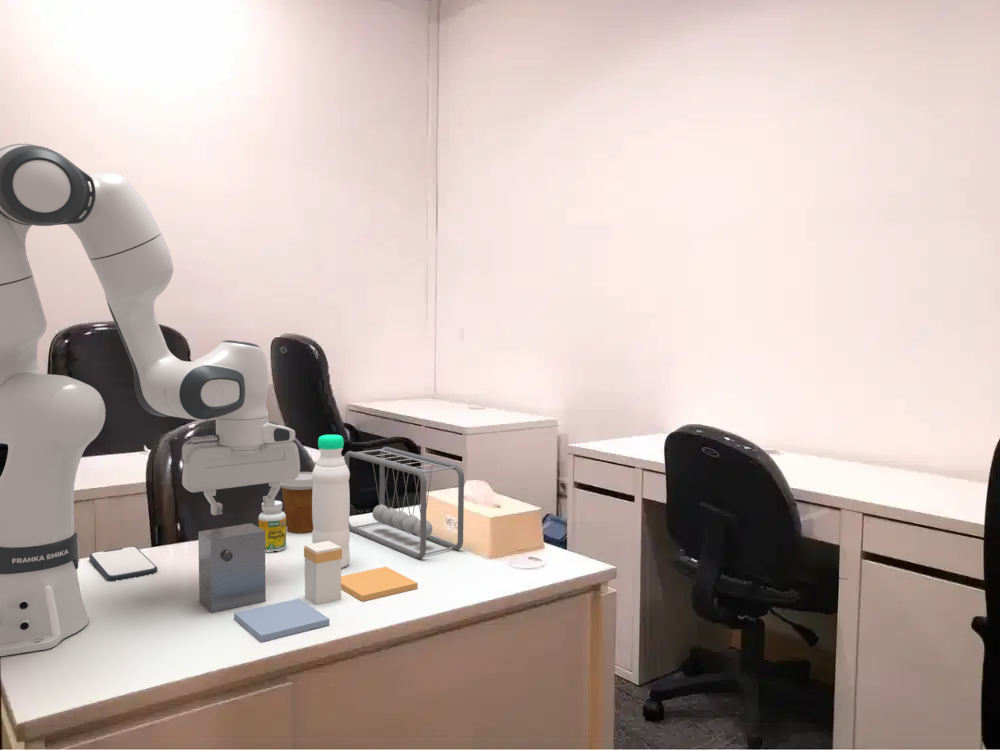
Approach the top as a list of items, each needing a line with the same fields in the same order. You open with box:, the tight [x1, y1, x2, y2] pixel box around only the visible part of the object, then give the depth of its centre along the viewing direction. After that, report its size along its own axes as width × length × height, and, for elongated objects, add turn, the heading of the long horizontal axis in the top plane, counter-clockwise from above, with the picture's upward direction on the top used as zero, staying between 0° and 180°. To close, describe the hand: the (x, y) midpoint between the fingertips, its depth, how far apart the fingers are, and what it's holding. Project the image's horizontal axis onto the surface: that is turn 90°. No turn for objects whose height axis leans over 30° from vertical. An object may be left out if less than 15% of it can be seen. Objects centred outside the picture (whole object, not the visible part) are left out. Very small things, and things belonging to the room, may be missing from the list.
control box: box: [197, 523, 267, 614], centre depth 136 cm, size 9×7×12 cm
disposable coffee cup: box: [281, 471, 313, 534], centre depth 180 cm, size 10×10×12 cm
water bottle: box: [311, 434, 351, 569], centre depth 156 cm, size 7×7×25 cm
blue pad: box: [233, 597, 330, 643], centre depth 128 cm, size 11×11×1 cm
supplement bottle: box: [258, 500, 287, 552], centre depth 166 cm, size 5×5×10 cm
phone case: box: [89, 546, 158, 582], centre depth 154 cm, size 9×2×16 cm
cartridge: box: [303, 541, 342, 605], centre depth 139 cm, size 5×5×9 cm
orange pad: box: [341, 566, 419, 602], centre depth 145 cm, size 11×11×1 cm
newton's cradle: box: [343, 446, 465, 560], centre depth 174 cm, size 30×10×18 cm, turn 41°
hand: (243, 510), depth 145 cm, fingers open, 8 cm apart
